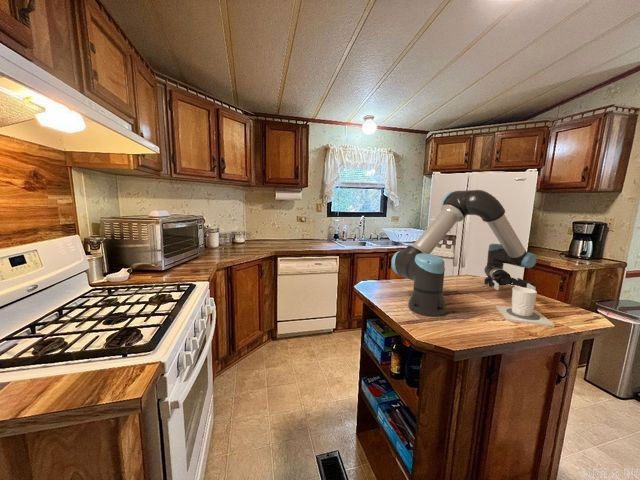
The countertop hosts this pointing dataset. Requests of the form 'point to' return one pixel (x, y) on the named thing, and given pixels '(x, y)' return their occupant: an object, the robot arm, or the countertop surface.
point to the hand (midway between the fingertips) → (515, 288)
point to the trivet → (524, 317)
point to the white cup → (523, 301)
